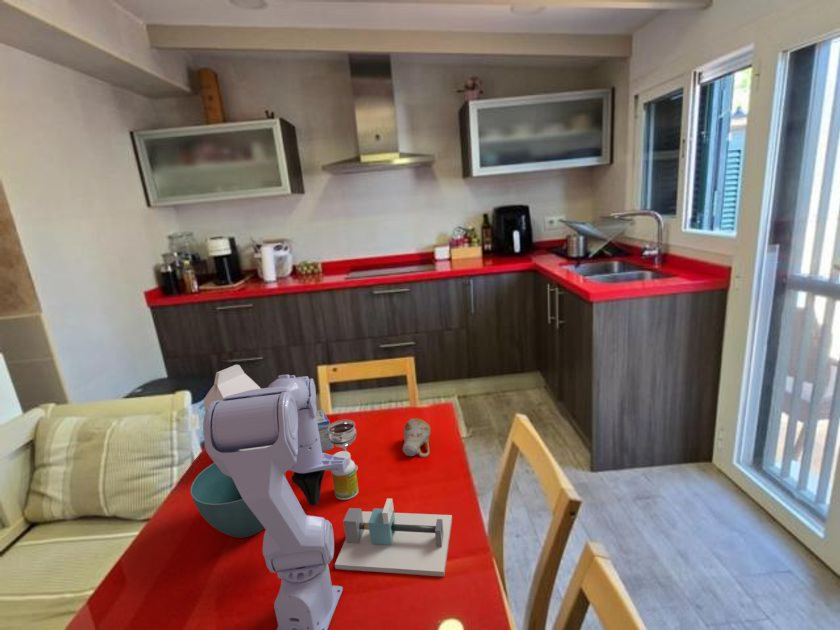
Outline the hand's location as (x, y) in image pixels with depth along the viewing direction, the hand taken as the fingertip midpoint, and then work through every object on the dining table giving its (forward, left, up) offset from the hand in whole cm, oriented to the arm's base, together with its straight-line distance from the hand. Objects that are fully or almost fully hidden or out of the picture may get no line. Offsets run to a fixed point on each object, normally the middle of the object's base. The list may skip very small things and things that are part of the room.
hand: (315, 501), depth 84 cm
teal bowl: (+4, +18, -10) cm, 21 cm away
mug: (+34, -13, -10) cm, 37 cm away
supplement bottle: (+15, 0, -10) cm, 18 cm away
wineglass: (+24, +3, -10) cm, 26 cm away
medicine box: (+35, +14, -10) cm, 39 cm away
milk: (+28, +33, -10) cm, 44 cm away
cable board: (+1, -15, -9) cm, 18 cm away
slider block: (+1, -13, -8) cm, 15 cm away
